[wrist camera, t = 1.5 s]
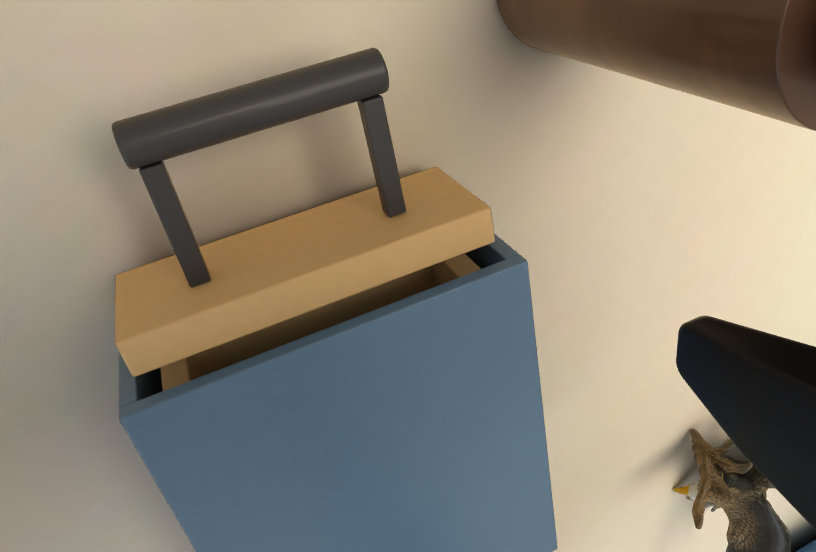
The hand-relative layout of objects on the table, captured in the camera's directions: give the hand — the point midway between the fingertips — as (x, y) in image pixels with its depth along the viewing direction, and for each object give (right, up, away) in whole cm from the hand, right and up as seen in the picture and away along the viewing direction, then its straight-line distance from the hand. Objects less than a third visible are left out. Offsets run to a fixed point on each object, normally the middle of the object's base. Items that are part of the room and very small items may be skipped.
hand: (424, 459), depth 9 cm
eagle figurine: (+17, -9, +29) cm, 35 cm away
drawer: (-3, +1, +14) cm, 14 cm away
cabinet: (-3, -2, +17) cm, 17 cm away
